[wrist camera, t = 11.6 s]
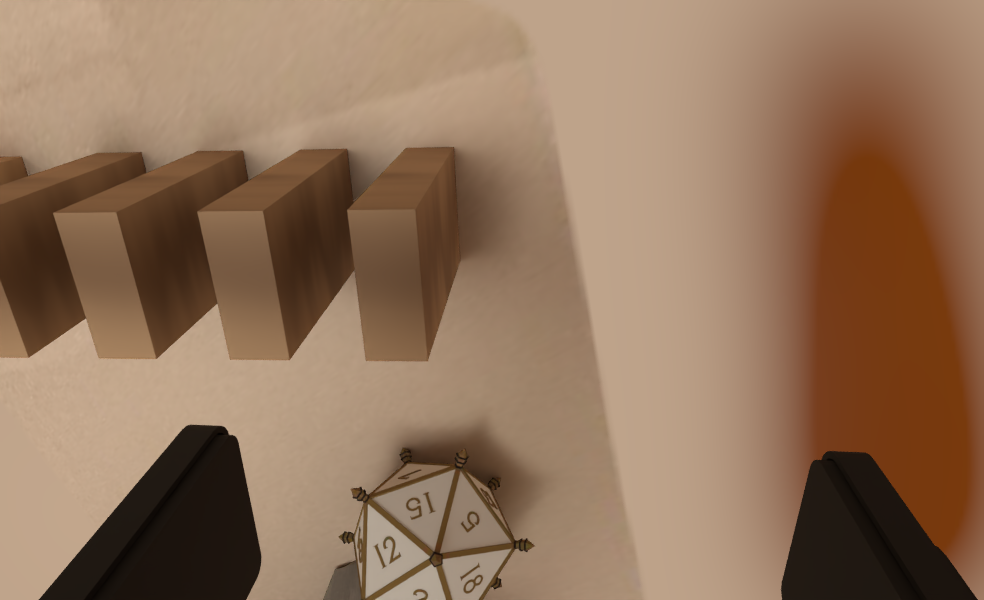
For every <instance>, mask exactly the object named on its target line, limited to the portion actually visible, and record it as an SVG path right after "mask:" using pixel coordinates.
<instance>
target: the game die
mask: <svg viewBox="0 0 984 600" xmlns="http://www.w3.org/2000/svg"><path fill="white" fill-rule="evenodd" d="M456 454H457V457H456V458H455V460H456V464H442V463H421V462H411V457H412V456H411V455H410V451H408V450H406V449H405V448H403V449H402V452H401V454H400V456H401V458H402V459H401V460H402V461H403V462H404V465H403V466H402V467H401V468H400V469H398V470H397V471H396V472H395V473H394V474H392V475H391V476H390V477H389V478H388V479H387V480H385V481H384V482H383V483H382V484H381V485H380V486H378V487H377V488H376V489H375V490H374V491H373V492H371V493H370V494H369V495H367V494H366V491H365V490H362V487H359V488H353V489H351V491H352V494H353V498H355V499H357V501H363V502H364V503H363V507H362V510H361V513H360V517H359V520H358V523H357V527H356V530H355V533H354V534H353V533H351V532H345V531H344V533H343V534H342V535H340V536H339V538H340V539H341V540H342V541H343V543H344V544H345V543H348V544H349V543H350V542H354V549H355V556H356V563H357V571H358V578H359V586H360V593H361V600H483V598H484V597H485V595H486V594H487V592H488V591H489V589H490V587H493V588H494V589H496V588H499V587H502V584H501V579H499V578H498V575H499V573H500V572H501V570H502V569H503V567H504V566H505V564H506V563H507V561H508V560H509V558H510V556H511V555H512V553H513V552H514V550H515V549H519V550H520V551H523V550H524V551H526V552H528V550H529V549H531V548H532V547H534V546H535V545H533V544H532V543H531V542H530V541H528V539H527V538H526V539H525V540H522V539H520V540H518V541H516V540H515V539H514V537H513V535H512V533H511V531H510V529H509V526H508V524H507V522H506V520H505V518H504V516H503V514H502V512H501V509H500V507H499V505H498V503H497V501H496V499H495V497H494V495H493V493H492V490H496V489H497V487H500V485H499V484H500V478H492V480H490V481H489V483H488V486H487V485H486V484H484V483H483V482H482V481H480V480H479V479H478V478H476V477H475V476H474V475H472V474H471V473H470V472H469V471H467V470H466V469H465V468H463V465H464V464H465V463H466V462H467V461H466V460H467V459H468V456H467V453H466V450H465V449H464V450H462V451H461V452H459V453H456Z"/></svg>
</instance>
